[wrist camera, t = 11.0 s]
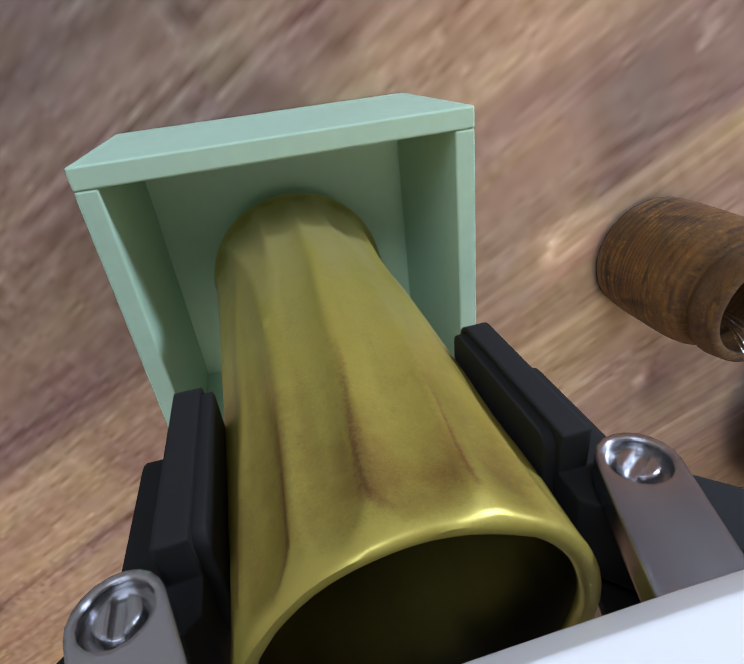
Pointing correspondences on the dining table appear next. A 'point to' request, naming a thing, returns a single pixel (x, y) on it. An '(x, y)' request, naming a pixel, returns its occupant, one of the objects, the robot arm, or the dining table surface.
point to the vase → (370, 466)
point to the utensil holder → (679, 272)
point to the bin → (265, 180)
